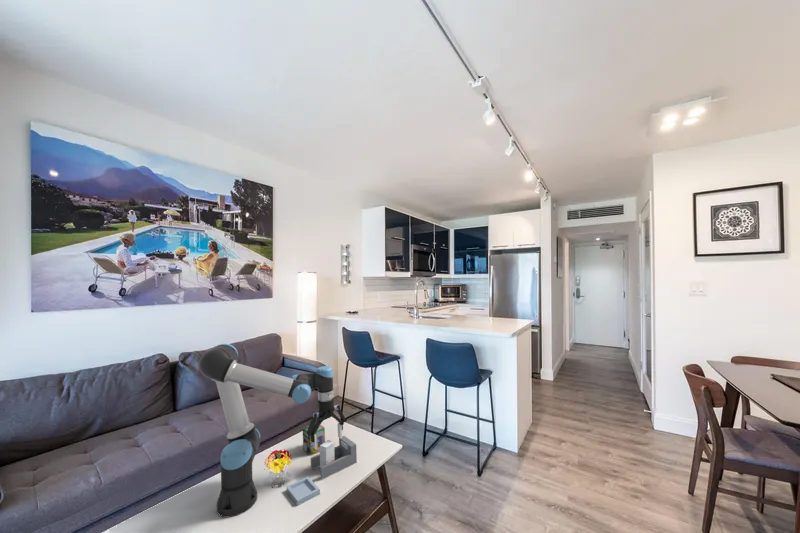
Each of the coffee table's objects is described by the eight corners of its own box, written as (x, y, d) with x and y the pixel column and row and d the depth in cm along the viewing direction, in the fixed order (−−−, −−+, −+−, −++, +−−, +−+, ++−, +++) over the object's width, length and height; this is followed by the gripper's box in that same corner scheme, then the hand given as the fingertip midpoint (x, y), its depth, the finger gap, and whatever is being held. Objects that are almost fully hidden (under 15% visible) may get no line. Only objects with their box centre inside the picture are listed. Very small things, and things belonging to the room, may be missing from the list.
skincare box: (326, 473, 148) (325, 447, 149) (319, 470, 151) (319, 445, 151) (335, 466, 154) (334, 441, 154) (328, 463, 156) (328, 439, 156)
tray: (297, 505, 128) (297, 500, 128) (286, 490, 137) (286, 486, 137) (320, 493, 134) (319, 489, 134) (308, 480, 143) (308, 476, 143)
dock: (322, 479, 144) (321, 459, 144) (310, 468, 153) (310, 449, 153) (356, 462, 156) (356, 444, 156) (344, 452, 165) (344, 435, 165)
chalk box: (325, 448, 169) (325, 421, 170) (310, 455, 163) (309, 427, 164) (318, 442, 176) (317, 416, 177) (302, 448, 170) (301, 421, 171)
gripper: (304, 409, 142) (306, 456, 141) (351, 393, 158) (353, 435, 158) (298, 404, 148) (300, 449, 147) (344, 389, 164) (345, 430, 163)
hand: (327, 442), depth 152 cm, fingers open, 13 cm apart
